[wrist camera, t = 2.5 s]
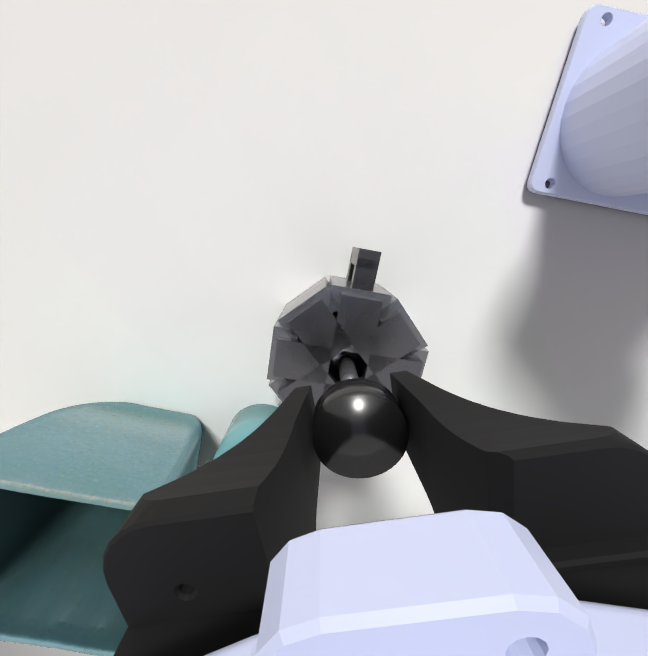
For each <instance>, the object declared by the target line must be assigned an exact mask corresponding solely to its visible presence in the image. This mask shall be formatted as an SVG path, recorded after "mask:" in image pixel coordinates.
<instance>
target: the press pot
mask: <svg viewBox="0 0 648 656" xmlns="http://www.w3.org/2000/svg"><path fill="white" fill-rule="evenodd" d="M380 256H381V252H377V251H372V250H366V249H361V248H355V247H353V248H352V254H351V259H350V264H349V269H348V274H347V278H341V277H335V276H330V282H328V280H327V279H326V277H324V278H323V279H321V280H320V281H319V282H317V283H316V284H314V285H313V286H312V287H310V288H309V289H307V290H306V291H305V292H303V293H302V294H300V295H299V296H297V297H296V298H295V299H293V300H292V301H290V302H289V303H288V304H287V305H286V306H285V308H284V310H283V311H282V313H281V315H280V316H279V318H278V320H277V322H276V323H275V325H274V330H273V337H272V345H271V352H270V360H269V367H268V375H267V379H269V380H270V383H269V386H270V387H271V388H272V389H273V391H274V392H275V393H276V394H277V395H278V397H279V398H280V399H281V400H282V402H283V401H284V400H285V399H286V398H287V397H288V395H289V394H290V393H291V392H292V391H293V390H294V389H295V388H297V387H303V386H309V385H311V388H312V393H313V398H314V403H315V406H316V404H317V401H318V400H319V398H320V396H321V395H322V394H323V393H324V392H325V391H326V390H327V389H328V388H329V387H331V386H332V385H334V384H336V383H337V382H340V373H339V365H338V362H339V359H340V358H341V357H343V356H350V357H352V358H353V360H354V363H355V367H356V371H357V375H358V378H366V379H370V380H373V381H376V382H378V383H380V384H382V385H383V386H385V387H386V388H387V389H388V390H390V392H391V393H392V388H391V380H390V373H393V372H400V371H408V372H410V373H412V374H414V375H416V376H418V377H420V378H421V376H422V373H423V369H424V366H425V362H426V359H427V355H428V352H429V351H428V350H427V349H426V348H425V347H426V346H428V345H427V344H426V342H425V340H424V339H423V337H422V336H421V334H420V333H419V331H418V330H417V328H416V327H415V325H414V323H413V322H412V320H411V319H410V317H409V316H408V314H407V313H406V311H405V309H404V308H403V306H402V305H401V303H400V302H399V300H398V299H397V298H396V297H395V296H393V295H392V294H391V293H389V292H388V291H387V290H386V289H384V288H383V287H381V286H380V285H378V284H376V283H375V279H376V274H377V270H378V265H379V261H380Z"/></svg>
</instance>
